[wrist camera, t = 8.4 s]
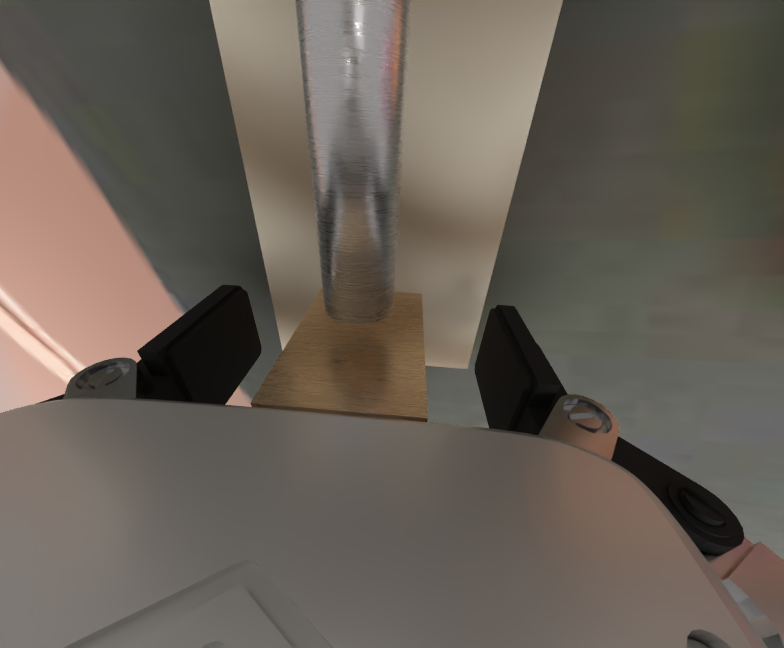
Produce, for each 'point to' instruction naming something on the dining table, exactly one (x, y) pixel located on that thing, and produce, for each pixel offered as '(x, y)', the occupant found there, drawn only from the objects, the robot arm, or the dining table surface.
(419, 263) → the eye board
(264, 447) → the robot arm
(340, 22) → the peg
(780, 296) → the dining table surface
